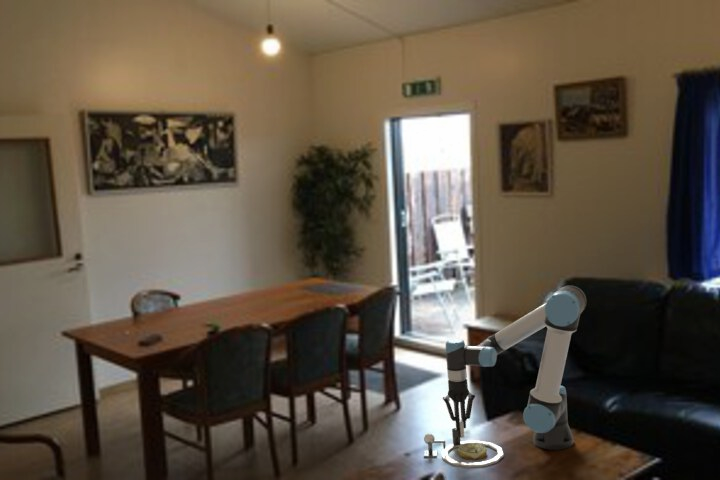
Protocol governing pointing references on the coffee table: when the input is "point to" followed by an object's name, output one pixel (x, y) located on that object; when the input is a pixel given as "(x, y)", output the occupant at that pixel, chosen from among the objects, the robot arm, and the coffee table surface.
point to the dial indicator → (430, 440)
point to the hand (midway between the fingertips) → (461, 436)
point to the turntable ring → (458, 443)
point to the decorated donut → (472, 451)
